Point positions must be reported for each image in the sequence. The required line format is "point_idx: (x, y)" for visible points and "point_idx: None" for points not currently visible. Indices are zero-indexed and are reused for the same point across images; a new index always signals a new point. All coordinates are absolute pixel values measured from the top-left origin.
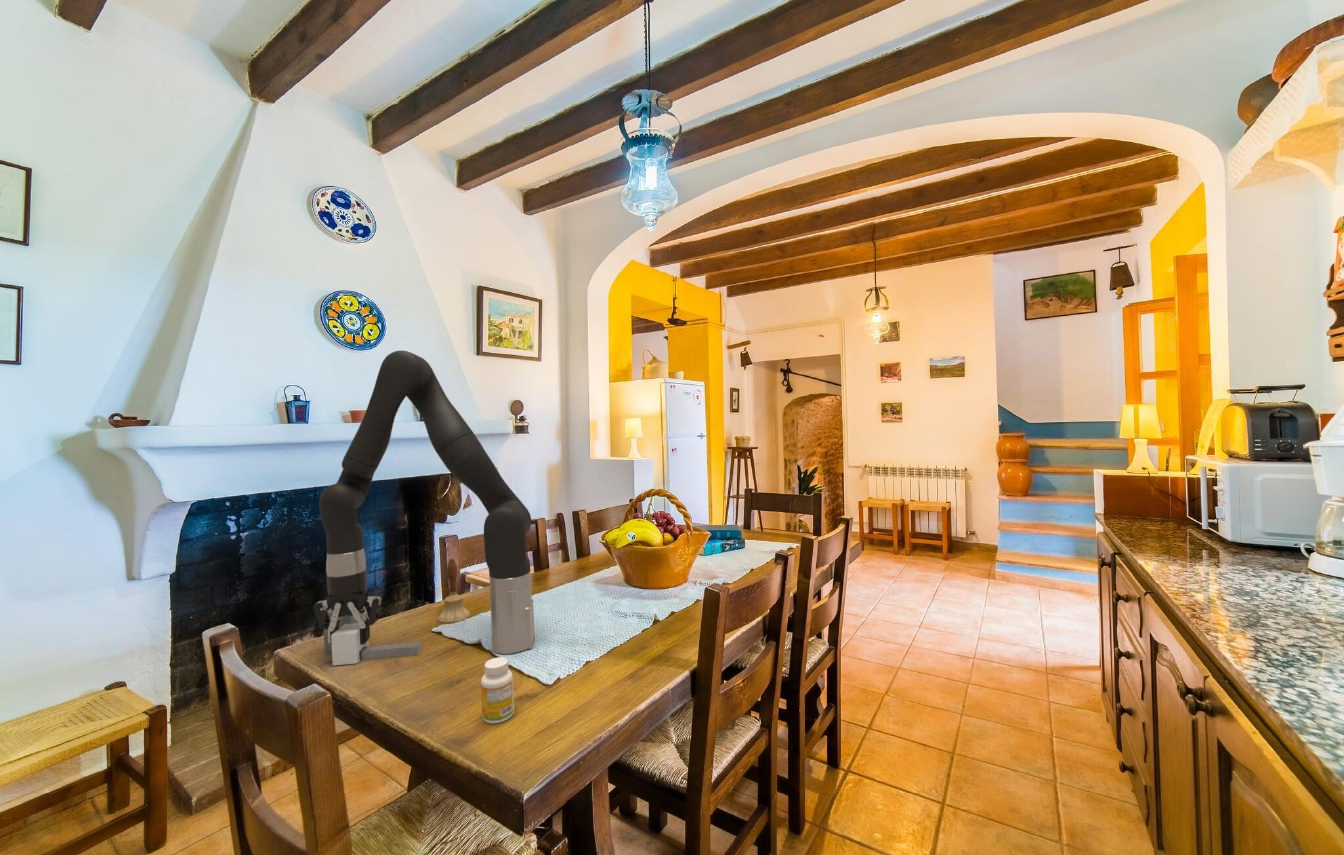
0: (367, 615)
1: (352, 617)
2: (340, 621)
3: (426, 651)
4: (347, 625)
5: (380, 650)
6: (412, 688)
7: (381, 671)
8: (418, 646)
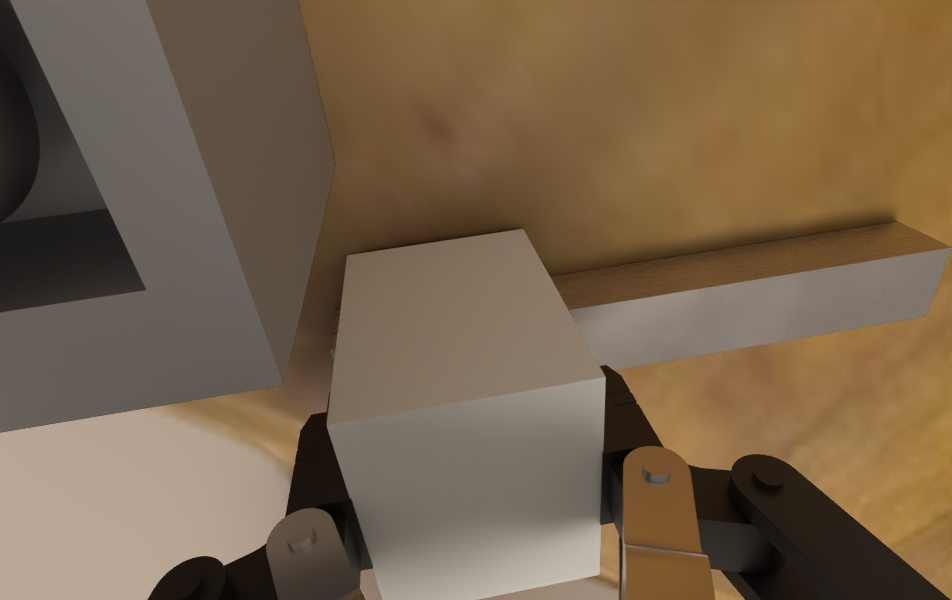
0: (699, 538)
1: (281, 246)
2: (347, 558)
3: None
4: (399, 454)
5: (677, 355)
6: None
7: (704, 447)
8: (923, 303)
